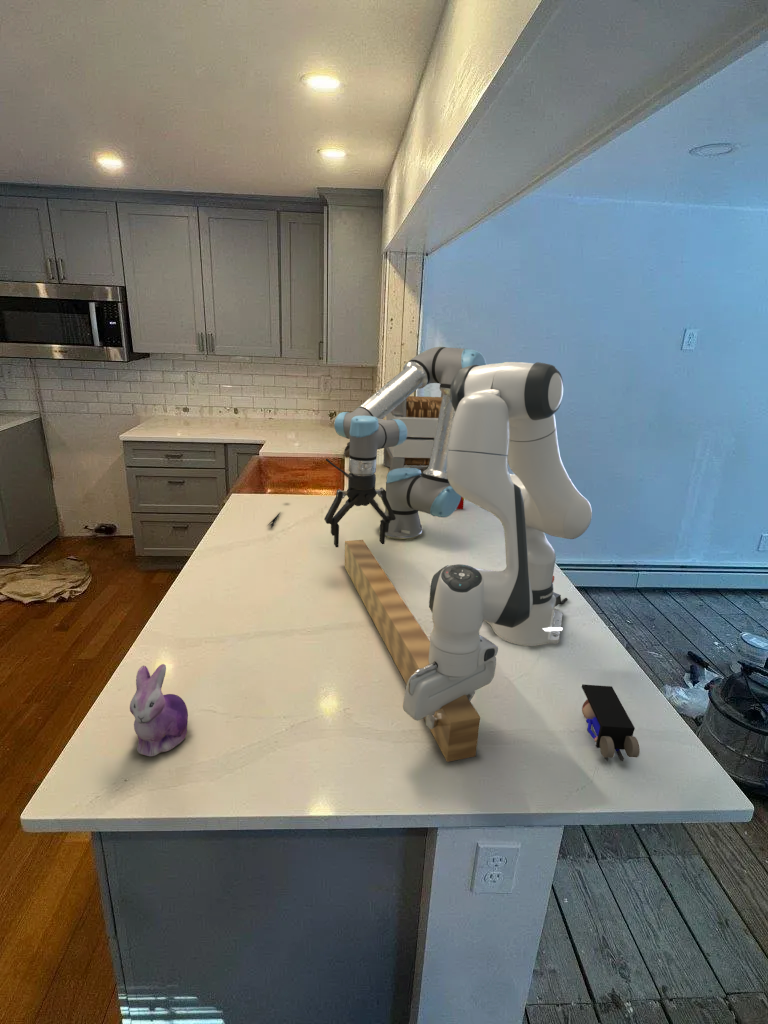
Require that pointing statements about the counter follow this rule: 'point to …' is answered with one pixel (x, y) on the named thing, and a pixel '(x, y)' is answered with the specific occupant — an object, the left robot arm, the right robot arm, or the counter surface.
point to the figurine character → (609, 722)
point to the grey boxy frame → (414, 432)
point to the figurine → (157, 714)
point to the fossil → (347, 450)
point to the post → (409, 648)
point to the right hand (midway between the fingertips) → (447, 717)
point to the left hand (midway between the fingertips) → (359, 544)
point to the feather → (273, 520)
